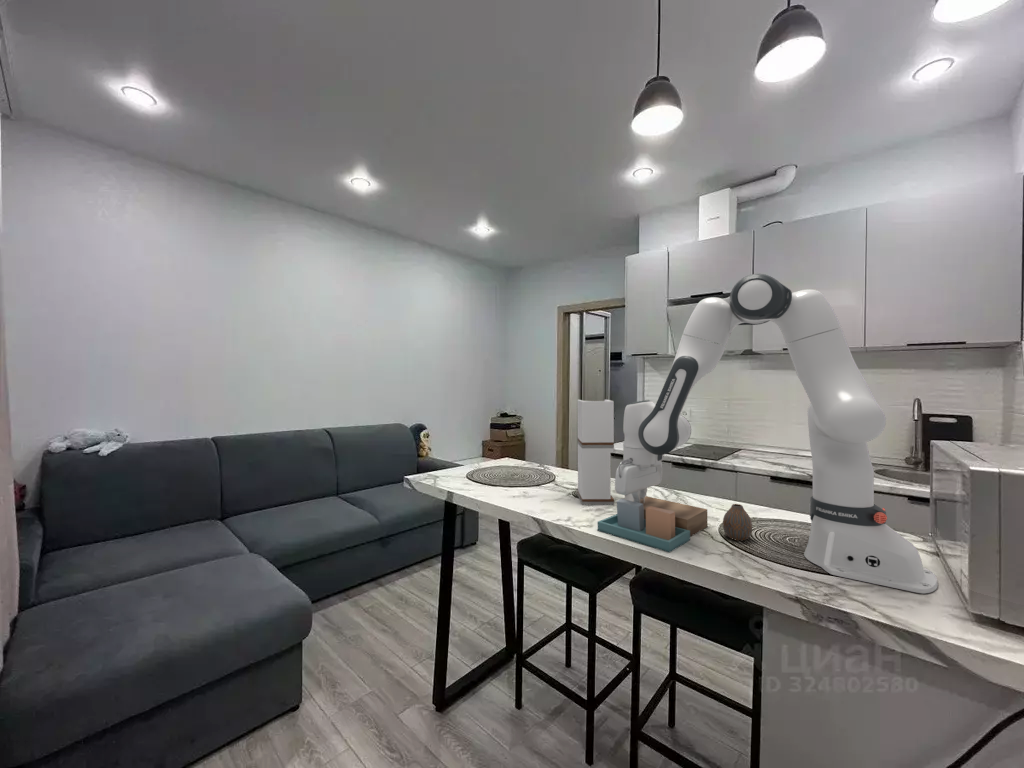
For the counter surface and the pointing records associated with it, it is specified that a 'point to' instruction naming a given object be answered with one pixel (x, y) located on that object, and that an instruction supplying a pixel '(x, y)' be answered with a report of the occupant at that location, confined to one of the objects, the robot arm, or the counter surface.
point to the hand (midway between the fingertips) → (639, 504)
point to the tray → (643, 535)
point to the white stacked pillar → (595, 451)
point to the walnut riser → (681, 514)
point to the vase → (737, 523)
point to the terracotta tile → (660, 522)
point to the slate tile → (630, 514)
